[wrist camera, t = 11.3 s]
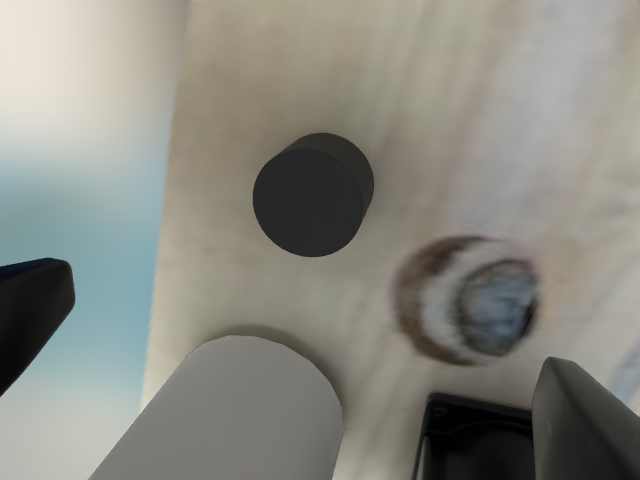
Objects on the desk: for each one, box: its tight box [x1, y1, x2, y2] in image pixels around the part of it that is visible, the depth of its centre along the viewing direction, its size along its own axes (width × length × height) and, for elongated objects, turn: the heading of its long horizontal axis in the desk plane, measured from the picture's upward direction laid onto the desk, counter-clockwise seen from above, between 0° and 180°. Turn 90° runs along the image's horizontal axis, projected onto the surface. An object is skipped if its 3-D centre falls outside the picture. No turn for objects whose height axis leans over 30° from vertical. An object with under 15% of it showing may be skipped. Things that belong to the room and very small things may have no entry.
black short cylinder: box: [253, 133, 374, 257], centre depth 17 cm, size 4×4×2 cm
